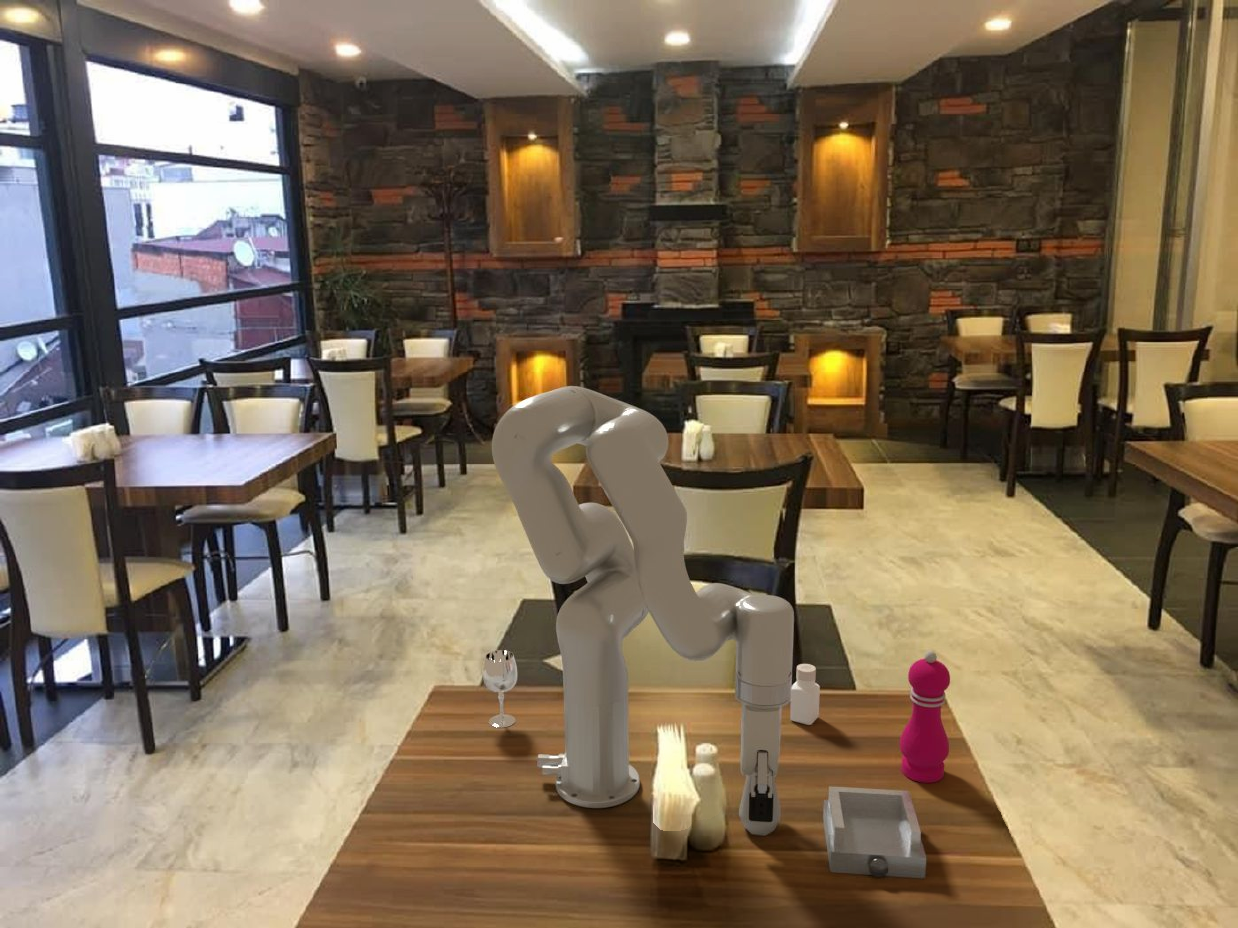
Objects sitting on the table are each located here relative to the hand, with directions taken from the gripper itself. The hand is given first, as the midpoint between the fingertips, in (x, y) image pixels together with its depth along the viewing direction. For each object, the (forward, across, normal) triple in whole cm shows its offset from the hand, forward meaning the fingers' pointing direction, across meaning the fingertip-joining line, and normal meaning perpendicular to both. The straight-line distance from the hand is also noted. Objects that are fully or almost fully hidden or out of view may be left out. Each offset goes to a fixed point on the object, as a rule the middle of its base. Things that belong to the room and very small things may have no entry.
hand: (760, 800), depth 139 cm
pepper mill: (+4, -17, +25) cm, 31 cm away
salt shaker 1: (+4, 0, 0) cm, 4 cm away
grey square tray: (+4, +3, +15) cm, 16 cm away
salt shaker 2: (+4, -32, +8) cm, 33 cm away
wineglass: (+4, -26, -43) cm, 50 cm away
